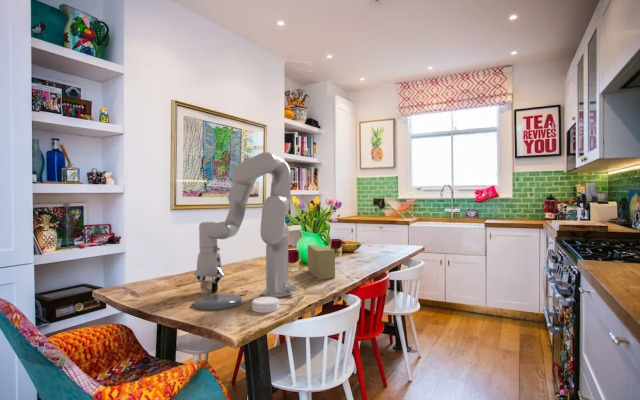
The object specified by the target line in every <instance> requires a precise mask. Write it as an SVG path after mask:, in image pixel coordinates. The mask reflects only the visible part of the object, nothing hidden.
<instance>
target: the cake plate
mask: <svg viewBox="0 0 640 400" xmlns="http://www.w3.org/2000/svg"><path fill="white" fill-rule="evenodd" d="M242 302H243V301H242V297H241V296H240V295H237V294H233V293H232V294H231V293H217V294H207V295H205V296H202V297H198V298H196V299H195V300H194V301H193V307H194V308H195V309H198V310H201V311H222V310H228V309H232V308H236V307H238V306H240V305H241V304H242Z"/></svg>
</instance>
